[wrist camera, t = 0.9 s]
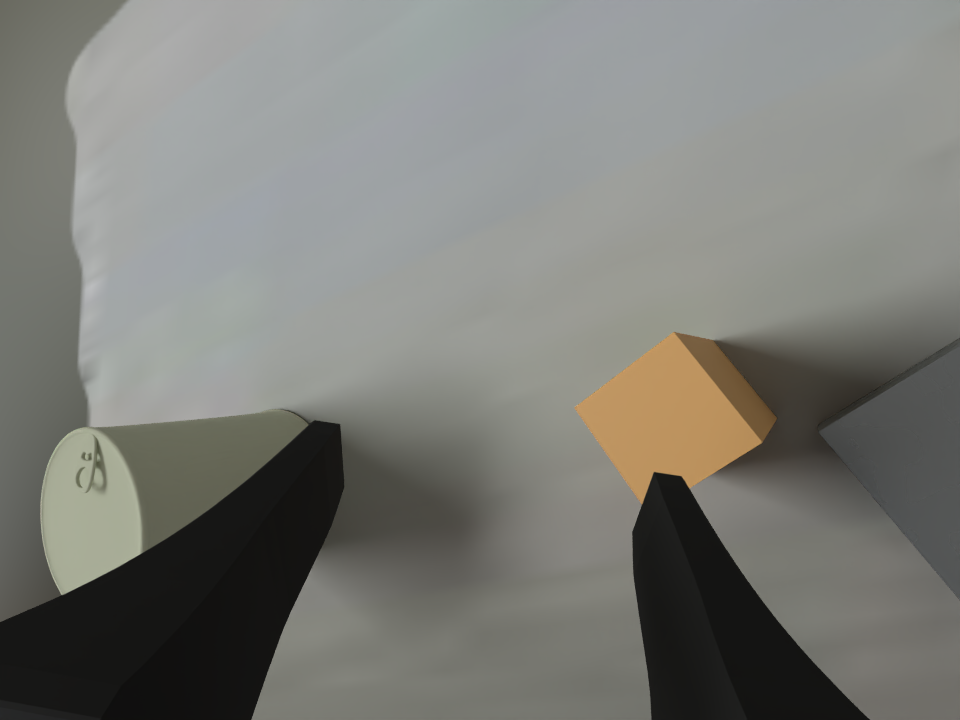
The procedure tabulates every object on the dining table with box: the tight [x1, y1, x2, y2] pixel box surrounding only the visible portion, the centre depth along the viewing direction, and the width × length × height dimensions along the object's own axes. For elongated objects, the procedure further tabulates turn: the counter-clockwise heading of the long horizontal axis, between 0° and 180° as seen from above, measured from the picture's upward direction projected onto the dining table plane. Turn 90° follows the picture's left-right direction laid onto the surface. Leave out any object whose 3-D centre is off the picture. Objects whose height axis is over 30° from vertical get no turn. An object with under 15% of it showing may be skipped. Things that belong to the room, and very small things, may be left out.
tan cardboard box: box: [575, 332, 777, 504], centre depth 21 cm, size 4×4×8 cm
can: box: [41, 409, 309, 595], centre depth 32 cm, size 9×9×12 cm
